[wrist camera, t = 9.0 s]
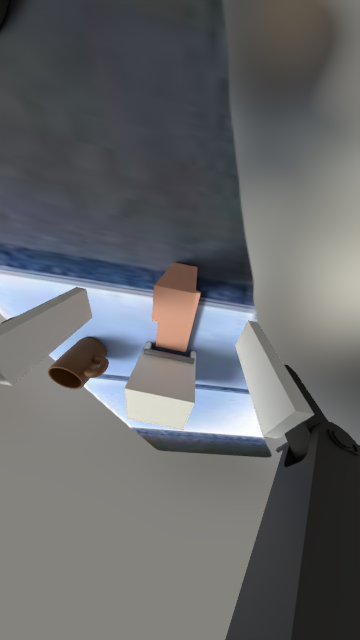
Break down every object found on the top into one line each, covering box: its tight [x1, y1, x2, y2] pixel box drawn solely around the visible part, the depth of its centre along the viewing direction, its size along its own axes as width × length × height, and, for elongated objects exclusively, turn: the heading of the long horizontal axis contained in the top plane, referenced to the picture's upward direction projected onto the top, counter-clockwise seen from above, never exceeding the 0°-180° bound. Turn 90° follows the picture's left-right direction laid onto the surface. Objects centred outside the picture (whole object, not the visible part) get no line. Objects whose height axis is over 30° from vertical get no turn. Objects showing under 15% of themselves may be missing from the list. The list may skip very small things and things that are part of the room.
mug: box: [48, 338, 109, 389], centre depth 33 cm, size 12×8×9 cm, turn 102°
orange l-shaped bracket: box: [152, 263, 201, 352], centre depth 23 cm, size 18×7×12 cm, turn 171°
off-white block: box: [125, 342, 196, 430], centre depth 32 cm, size 12×12×12 cm
